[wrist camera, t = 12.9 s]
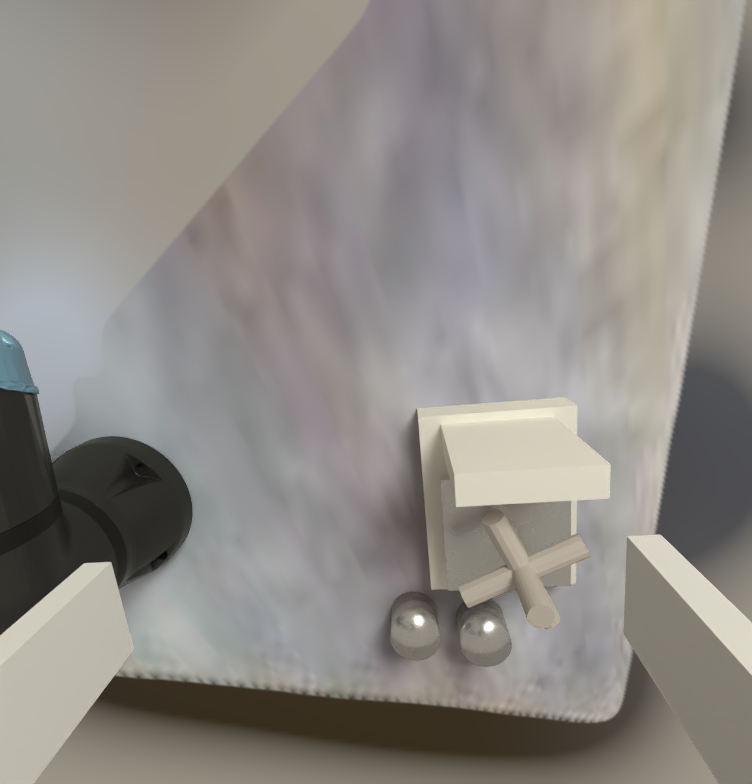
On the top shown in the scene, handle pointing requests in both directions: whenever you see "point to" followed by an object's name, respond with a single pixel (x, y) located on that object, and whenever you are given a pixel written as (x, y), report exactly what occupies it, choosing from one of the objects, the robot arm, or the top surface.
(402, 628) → the cylinder
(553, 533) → the pan
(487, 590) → the cream toy jack
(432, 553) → the scale base
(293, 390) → the top surface
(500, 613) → the cylinder
